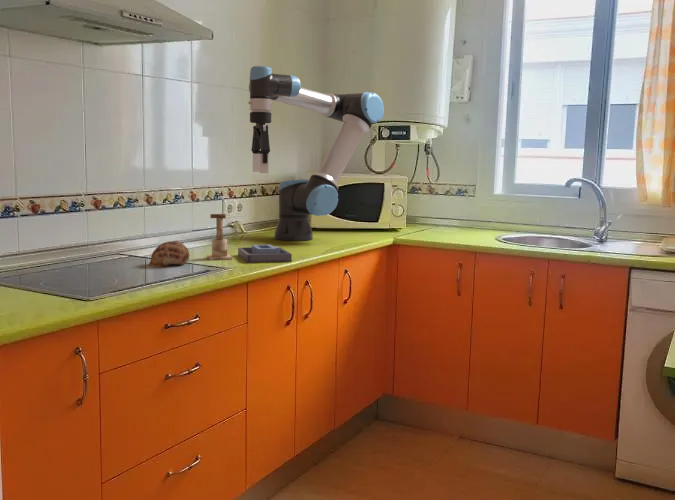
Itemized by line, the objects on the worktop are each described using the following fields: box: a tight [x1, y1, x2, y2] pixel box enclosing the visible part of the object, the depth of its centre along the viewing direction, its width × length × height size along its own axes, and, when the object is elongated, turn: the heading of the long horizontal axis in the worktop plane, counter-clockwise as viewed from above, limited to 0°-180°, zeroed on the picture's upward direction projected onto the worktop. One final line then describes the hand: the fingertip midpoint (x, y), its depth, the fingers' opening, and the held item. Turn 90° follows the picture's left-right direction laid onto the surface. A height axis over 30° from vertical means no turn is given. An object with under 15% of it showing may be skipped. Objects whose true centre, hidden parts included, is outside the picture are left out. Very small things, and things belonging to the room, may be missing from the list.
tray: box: [237, 246, 293, 264], centre depth 234 cm, size 14×17×2 cm
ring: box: [251, 244, 282, 254], centre depth 234 cm, size 10×8×3 cm
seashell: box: [148, 240, 190, 267], centre depth 218 cm, size 10×9×10 cm
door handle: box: [206, 213, 233, 261], centre depth 232 cm, size 7×7×14 cm
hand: (260, 172), depth 257 cm, fingers open, 13 cm apart
